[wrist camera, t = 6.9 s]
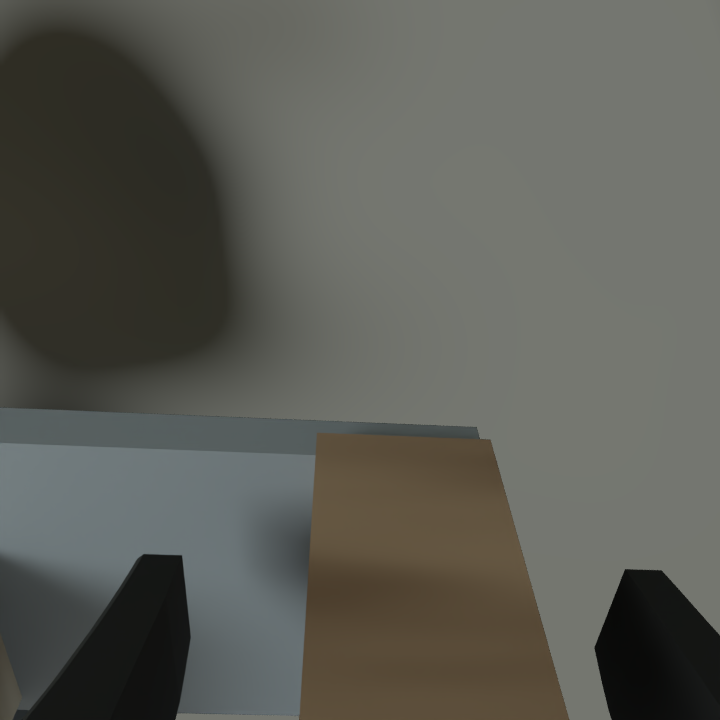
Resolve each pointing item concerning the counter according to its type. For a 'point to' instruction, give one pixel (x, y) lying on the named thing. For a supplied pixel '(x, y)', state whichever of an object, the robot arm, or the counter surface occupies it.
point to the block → (7, 687)
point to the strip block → (279, 561)
